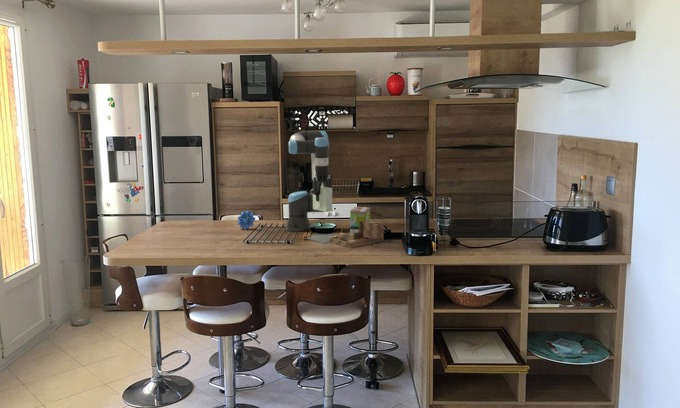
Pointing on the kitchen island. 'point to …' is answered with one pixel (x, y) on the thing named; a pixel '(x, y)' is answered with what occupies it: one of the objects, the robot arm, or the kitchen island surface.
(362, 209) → the tea box
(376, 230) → the rack
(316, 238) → the mat
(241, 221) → the blue knobby thick disc
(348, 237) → the offcut short
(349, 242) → the block
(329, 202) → the tall block
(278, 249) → the kitchen island surface
